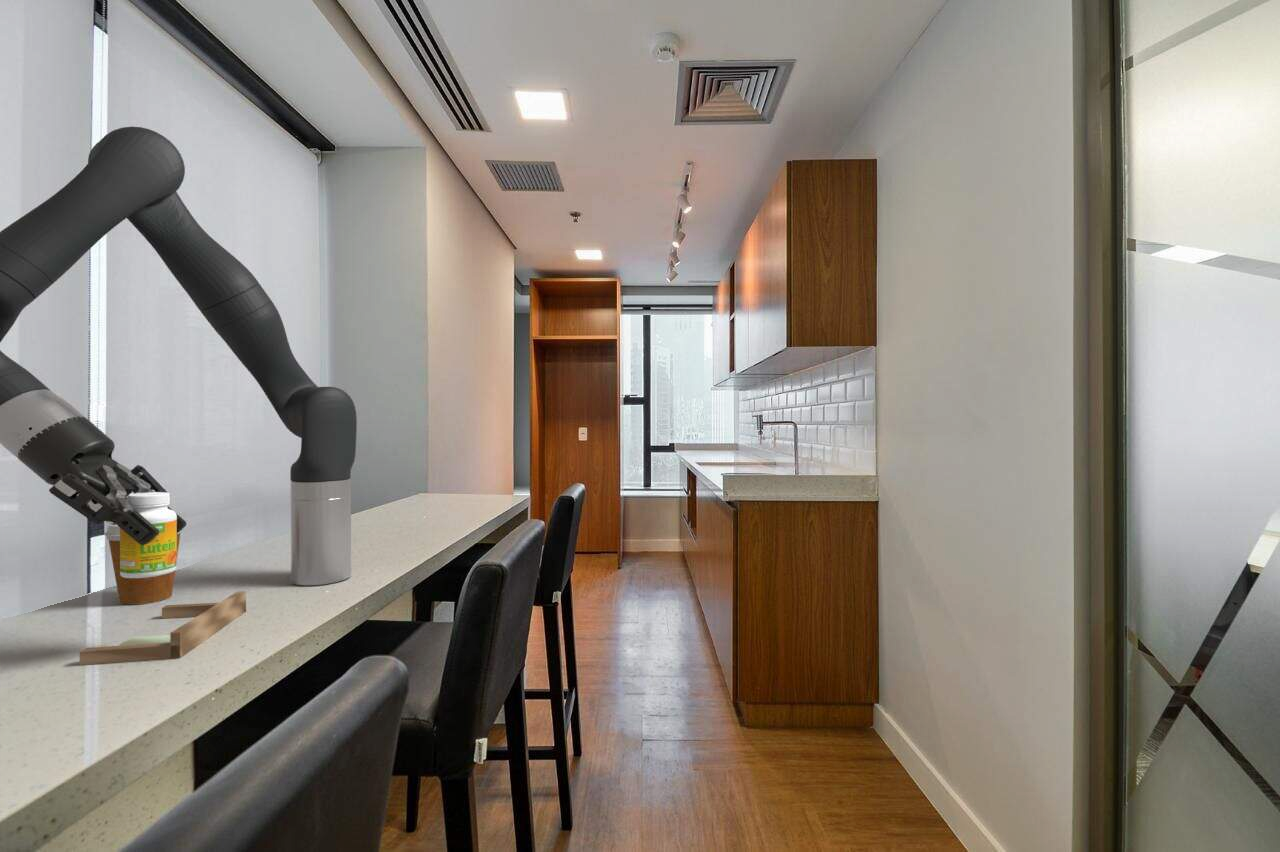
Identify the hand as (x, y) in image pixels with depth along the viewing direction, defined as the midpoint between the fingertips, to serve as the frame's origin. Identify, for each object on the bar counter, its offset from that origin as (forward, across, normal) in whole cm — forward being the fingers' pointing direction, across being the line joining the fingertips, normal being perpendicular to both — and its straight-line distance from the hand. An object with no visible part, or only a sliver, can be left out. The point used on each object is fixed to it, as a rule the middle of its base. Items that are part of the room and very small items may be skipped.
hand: (166, 534), depth 74 cm
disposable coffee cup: (0, +23, +20) cm, 30 cm away
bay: (+9, +4, +11) cm, 14 cm away
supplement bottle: (+2, 0, +5) cm, 5 cm away
